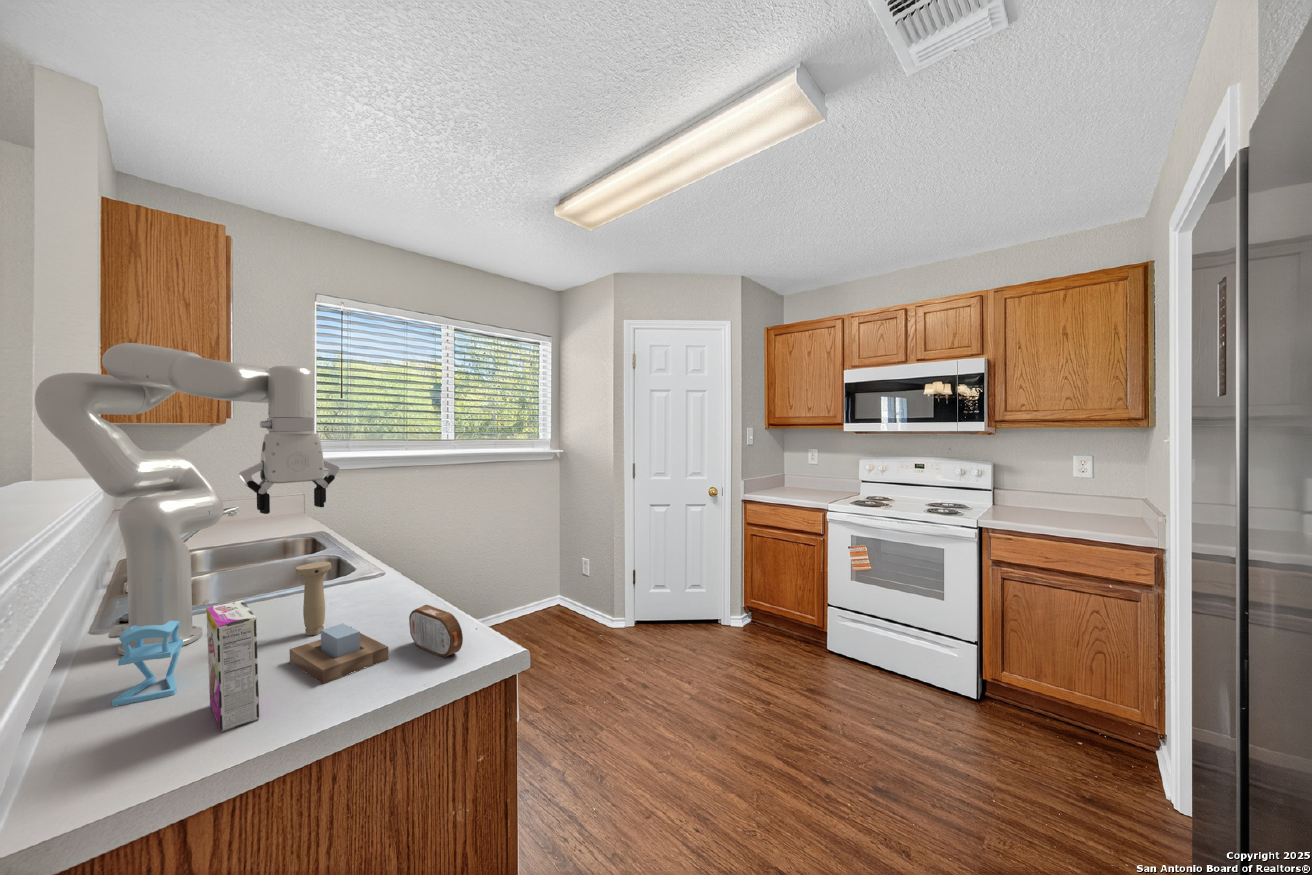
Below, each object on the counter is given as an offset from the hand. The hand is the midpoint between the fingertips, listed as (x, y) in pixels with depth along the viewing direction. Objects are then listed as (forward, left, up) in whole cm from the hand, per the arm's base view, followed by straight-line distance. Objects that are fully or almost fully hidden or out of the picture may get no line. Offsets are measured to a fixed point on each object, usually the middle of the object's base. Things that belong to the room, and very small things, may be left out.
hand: (293, 509), depth 104 cm
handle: (+1, +6, -28) cm, 29 cm away
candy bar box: (+3, -26, -28) cm, 38 cm away
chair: (-15, -15, -28) cm, 36 cm away
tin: (+29, -8, -29) cm, 41 cm away
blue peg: (+12, -9, -28) cm, 32 cm away
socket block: (+12, -9, -28) cm, 32 cm away
